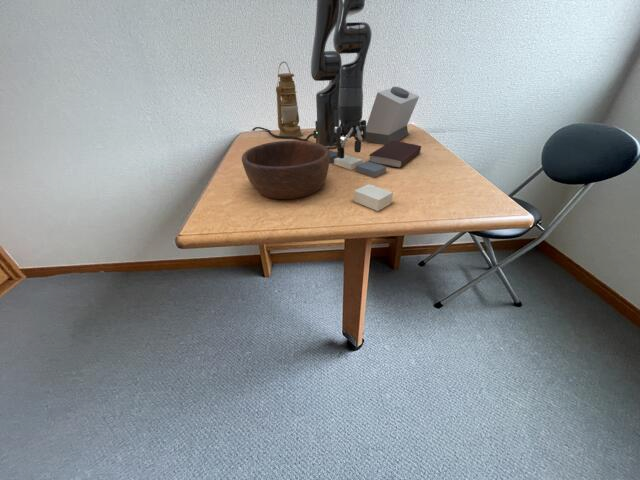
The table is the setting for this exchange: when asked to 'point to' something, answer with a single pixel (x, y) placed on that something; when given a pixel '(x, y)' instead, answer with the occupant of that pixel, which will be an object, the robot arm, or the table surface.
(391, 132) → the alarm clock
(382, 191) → the white rectangular block
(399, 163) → the book
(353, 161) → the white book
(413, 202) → the table surface
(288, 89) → the lantern
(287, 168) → the wooden bowl
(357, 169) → the blue-grey flat blocks
